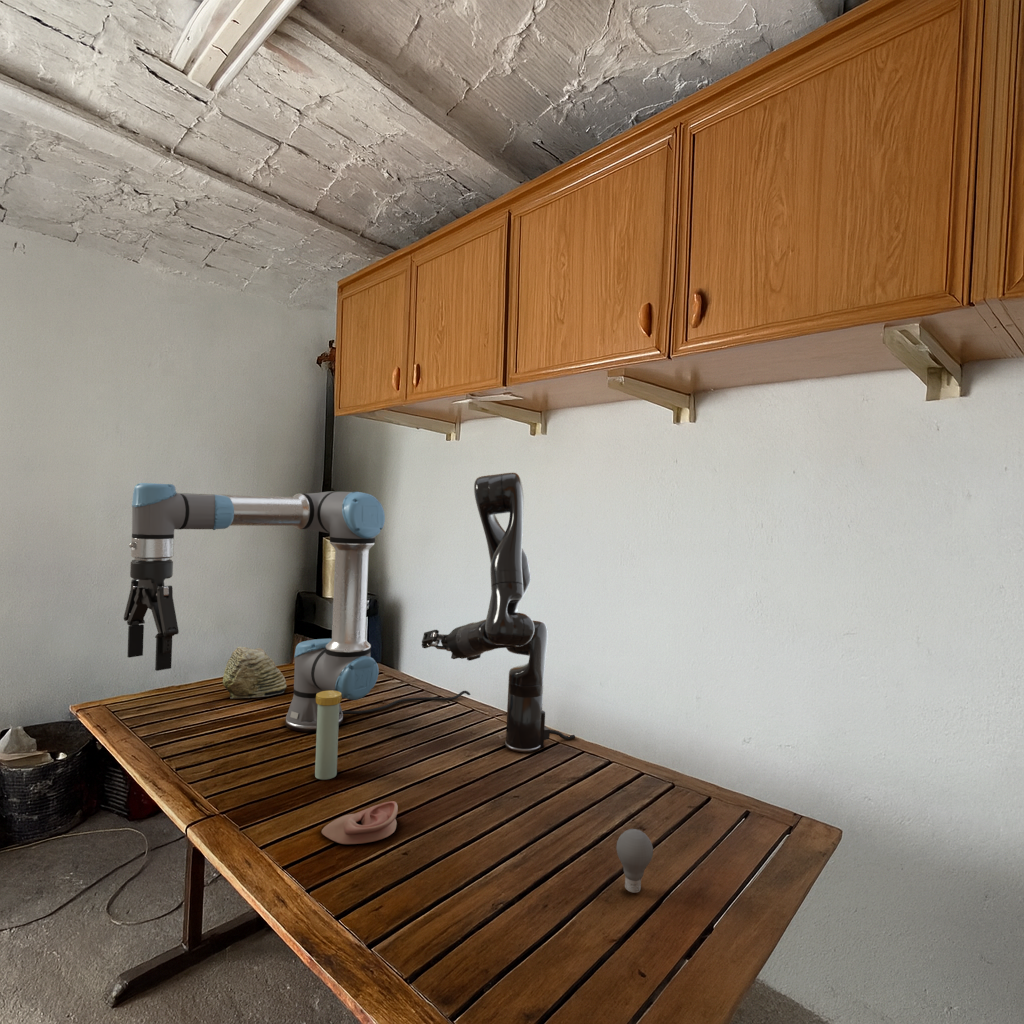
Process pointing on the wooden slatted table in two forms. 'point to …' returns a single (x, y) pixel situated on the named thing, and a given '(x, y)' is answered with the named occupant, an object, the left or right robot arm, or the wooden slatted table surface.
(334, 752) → the jar
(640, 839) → the light bulb
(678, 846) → the wooden slatted table surface
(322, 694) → the lid
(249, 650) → the fossil
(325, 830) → the anatomical model
